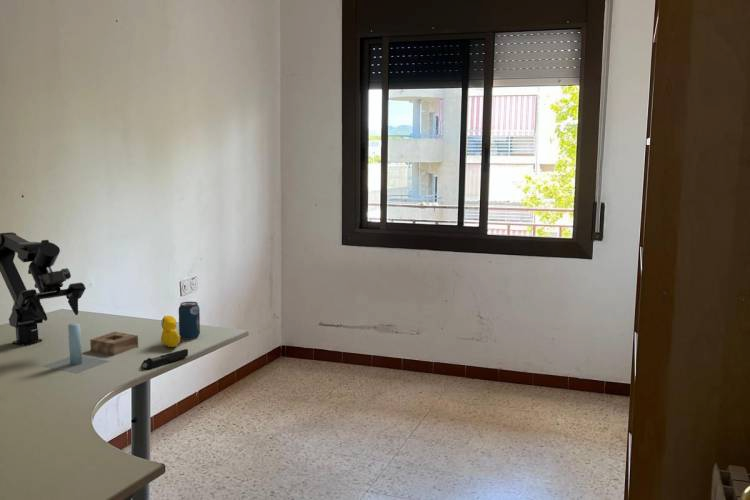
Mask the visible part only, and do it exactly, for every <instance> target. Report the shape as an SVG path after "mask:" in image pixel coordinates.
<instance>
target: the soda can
mask: <svg viewBox="0 0 750 500" xmlns="http://www.w3.org/2000/svg"><path fill="white" fill-rule="evenodd" d="M200 313H201V312H200V305H199V304H198V302H197V301H184V302H180V305H179V307H178V336H180V339H183V340H195V339H197V338H198V337H199V336H200V335H201V320H200V319H201V318H200V317H201V316H200V315H201V314H200ZM194 338H195V339H194Z"/></svg>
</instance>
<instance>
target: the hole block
mask: <svg viewBox="0 0 750 500" xmlns="http://www.w3.org/2000/svg"><path fill="white" fill-rule="evenodd" d="M89 343H90V352H94V353H95V352H96V353H101V354H106V355H111V356H117V355H119V354H122V353H125V352H128V351H130V350H133V349H135V348H137V349H139V337H138V335H135V334H130V333H123V332H119V331H118V332H117V331H113V332H110V333H106V334H104V335H100V336H97V337H94V338H91V339H90V342H89Z"/></svg>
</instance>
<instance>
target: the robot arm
mask: <svg viewBox="0 0 750 500" xmlns="http://www.w3.org/2000/svg"><path fill="white" fill-rule="evenodd" d="M60 252H61V249H60V247H59V246H58V245H57V244H55V243H53V242H50V241H49V239H43V240H41V242H38V241H29V240H26V239H25V238H23V237H21V236H19V235H17V233H16V232H11V231H9V232H0V274H1V277H2V279H3V281H4V283H5V285H6V288H7V289H8V292H9V293H10V296H11V298H12V300H13V305H12V308H11V314H10V315H9V318H8V322H9V326H10V327H13V328H15V338H16V340H14V341H12V342H11V343H12V344H15V345H20V346H29V345H33V344H37V343H39V342H42V341H43V338H39V329H38V324H43V321H45V322H47V320H48V316H47V314H46V311H45V310H44V307H43V305H42V303H41V300H45V299H52V298H59V297H66V299H67V302H68V305H69V307H70V308H71V310H72V312H73V313H74V315H75V316H78V315H79V299H81V298H82V296H83V295H84V293H85V290H86V285H85V284H84V283H83V282H75V283H74V282H73V283H69V285H68V288H64V289H61V288H63V286H64V284H63V283H64V282H67V280H69V279H70V278H72V275H71V272H70V270H69V268H61V270H56V271H53V270H52V267H53V266H54V265H55V264H56V261H57V259H58V256H59V255H60ZM16 254H17V258H18V259H19V260H20V261H21V262H22V263H29V265H28V271H27V274H28V275H31V277H32V278H33V279H32V280H33V281H34V288H35V289H34V288H33V289H27V288H26V285H25V283H24V281H23V279H22V277H21V275H20V273H19V270H18V268H17V266H16V264H15V263H14V260H15V256H16ZM37 290H38V292H37Z"/></svg>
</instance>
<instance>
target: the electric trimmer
mask: <svg viewBox="0 0 750 500" xmlns="http://www.w3.org/2000/svg"><path fill="white" fill-rule="evenodd" d="M188 355H189V349H188V348H184V349H181V350H176V351H173V352H170V353H166V354H162V355H161V354H160V355H159V356H156V357H148V358H147V359H144V360H143V361H142V362H141V364H140V368H141V369H142V370H145V371H148V370H149V371H150V370H151V369H152V368H156V367H158V366H161V365H165V364H168V363H169V364H171V363H174V362H177V361H178V360H179V361H180V360H182V359H185V358H186V357H187V356H188Z"/></svg>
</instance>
